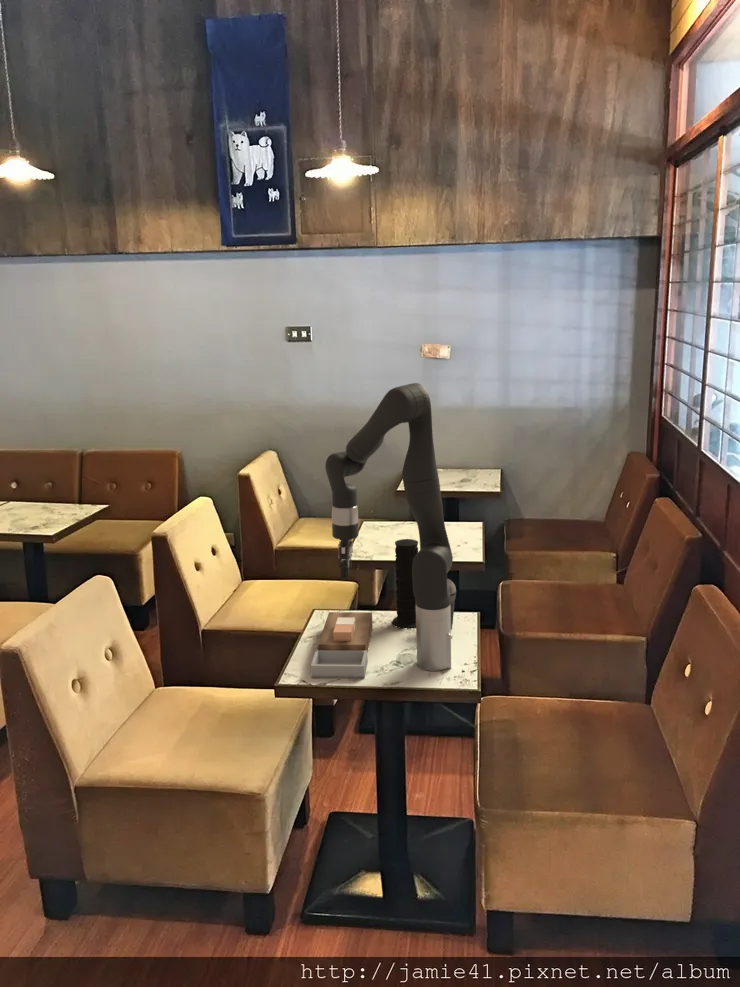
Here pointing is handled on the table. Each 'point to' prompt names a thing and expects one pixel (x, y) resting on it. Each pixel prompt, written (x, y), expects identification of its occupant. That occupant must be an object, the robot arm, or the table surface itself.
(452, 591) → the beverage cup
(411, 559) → the handle grip
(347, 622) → the cream tile
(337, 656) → the box
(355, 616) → the walnut platform
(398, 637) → the table surface
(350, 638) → the terracotta tile
